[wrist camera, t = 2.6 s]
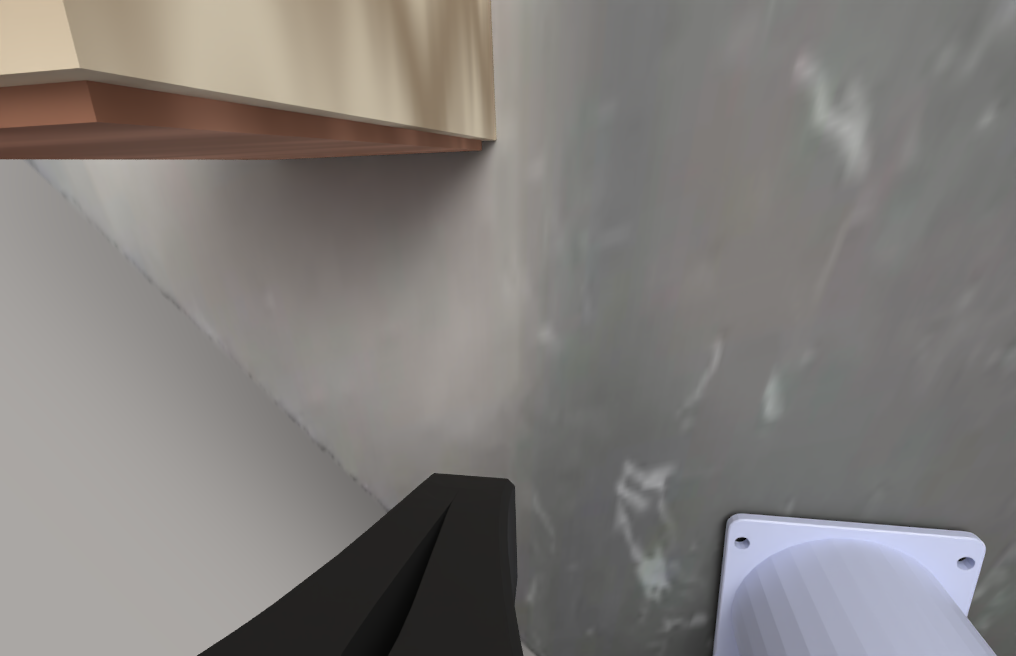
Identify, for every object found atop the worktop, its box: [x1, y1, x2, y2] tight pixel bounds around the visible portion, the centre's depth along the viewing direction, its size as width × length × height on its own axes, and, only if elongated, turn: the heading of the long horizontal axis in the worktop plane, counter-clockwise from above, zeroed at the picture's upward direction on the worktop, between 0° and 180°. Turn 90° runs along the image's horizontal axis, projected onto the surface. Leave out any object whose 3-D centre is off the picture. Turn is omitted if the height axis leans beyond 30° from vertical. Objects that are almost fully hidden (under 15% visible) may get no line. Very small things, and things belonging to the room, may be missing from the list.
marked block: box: [0, 0, 496, 160], centre depth 10 cm, size 4×8×14 cm, turn 92°
